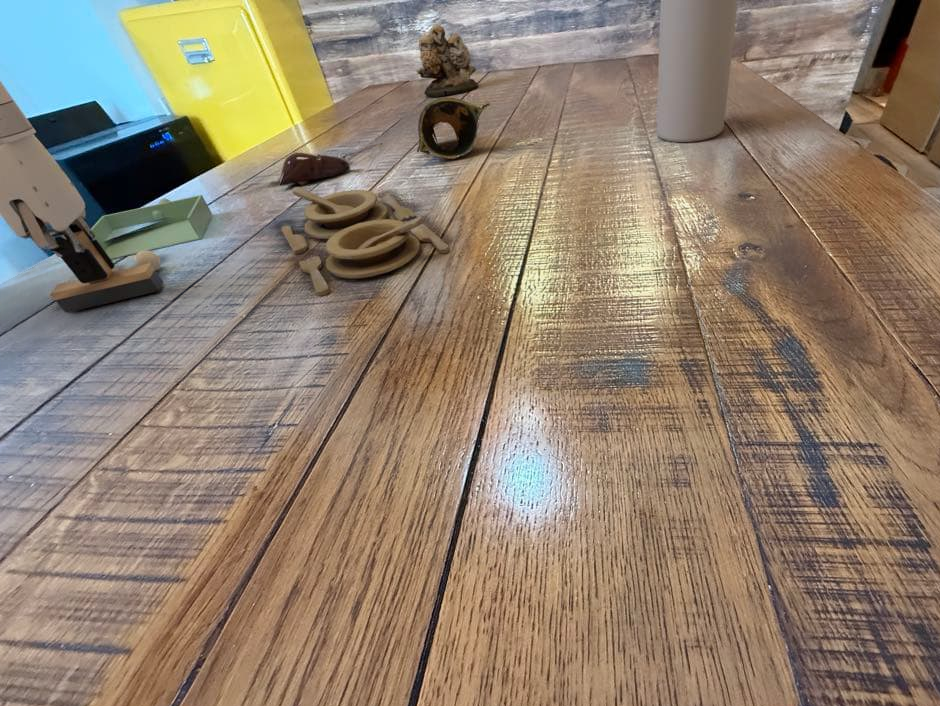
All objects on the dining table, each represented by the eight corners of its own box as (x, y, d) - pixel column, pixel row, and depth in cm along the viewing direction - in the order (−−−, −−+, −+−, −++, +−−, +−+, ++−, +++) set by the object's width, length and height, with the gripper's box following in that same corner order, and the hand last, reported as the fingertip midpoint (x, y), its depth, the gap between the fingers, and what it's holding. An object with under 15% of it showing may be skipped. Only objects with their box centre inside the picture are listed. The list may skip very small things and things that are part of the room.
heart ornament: (288, 199, 106) (297, 155, 108) (346, 203, 106) (353, 159, 108) (273, 178, 99) (282, 132, 102) (334, 183, 99) (343, 137, 102)
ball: (146, 278, 77) (133, 258, 75) (140, 273, 78) (126, 253, 76) (168, 269, 78) (155, 249, 76) (161, 264, 80) (148, 245, 78)
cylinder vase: (647, 131, 103) (650, -30, 87) (706, 120, 104) (721, -41, 87) (670, 147, 94) (679, -30, 77) (734, 135, 95) (757, -42, 78)
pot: (465, 88, 112) (473, 68, 96) (493, 138, 117) (505, 127, 100) (400, 131, 112) (397, 119, 96) (430, 180, 117) (432, 176, 101)
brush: (65, 313, 70) (13, 251, 64) (73, 303, 72) (23, 242, 66) (158, 291, 72) (116, 229, 66) (163, 281, 74) (122, 221, 68)
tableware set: (281, 231, 85) (264, 194, 81) (393, 197, 91) (382, 162, 87) (318, 301, 65) (297, 257, 61) (458, 252, 71) (448, 209, 67)
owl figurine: (428, 100, 152) (411, 30, 141) (418, 95, 161) (402, 29, 149) (483, 88, 157) (472, 19, 145) (471, 83, 165) (460, 18, 154)
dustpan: (201, 238, 87) (189, 217, 84) (94, 263, 84) (78, 242, 81) (218, 202, 101) (207, 183, 98) (126, 222, 98) (113, 203, 96)
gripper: (-16, 119, 63) (89, 258, 75) (-93, 151, 51) (46, 310, 63) (51, 107, 64) (143, 246, 76) (-10, 136, 52) (111, 294, 64)
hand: (98, 274), depth 70 cm, fingers closed on brush, 2 cm apart
